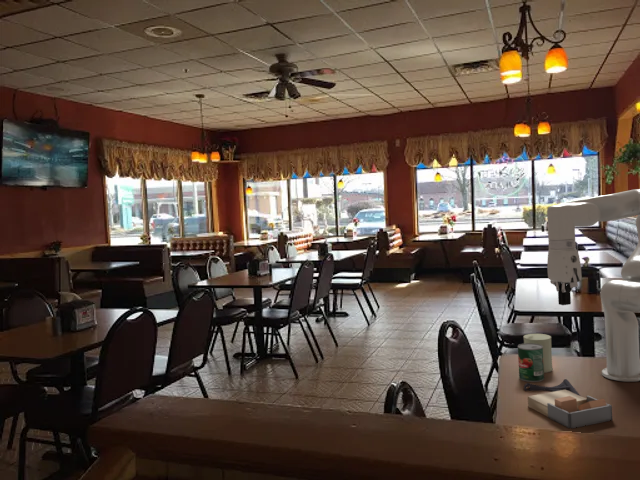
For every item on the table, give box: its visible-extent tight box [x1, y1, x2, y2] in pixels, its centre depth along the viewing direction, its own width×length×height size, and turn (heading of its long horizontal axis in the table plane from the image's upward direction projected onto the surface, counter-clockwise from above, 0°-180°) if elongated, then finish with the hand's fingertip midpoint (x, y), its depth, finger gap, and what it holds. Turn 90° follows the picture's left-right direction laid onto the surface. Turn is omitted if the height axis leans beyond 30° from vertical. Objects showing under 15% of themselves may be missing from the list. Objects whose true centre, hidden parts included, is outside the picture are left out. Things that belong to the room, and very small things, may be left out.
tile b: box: [555, 396, 577, 413], centre depth 149 cm, size 5×5×2 cm
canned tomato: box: [517, 342, 545, 383], centre depth 183 cm, size 8×8×11 cm
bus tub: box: [547, 395, 613, 429], centre depth 148 cm, size 14×8×4 cm, turn 106°
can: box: [522, 333, 554, 374], centre depth 193 cm, size 9×9×12 cm
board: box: [527, 390, 587, 418], centre depth 157 cm, size 13×9×3 cm
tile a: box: [578, 398, 608, 411], centre depth 148 cm, size 5×5×2 cm
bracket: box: [523, 378, 581, 396], centre depth 172 cm, size 14×15×3 cm
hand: (564, 304), depth 169 cm, fingers closed
